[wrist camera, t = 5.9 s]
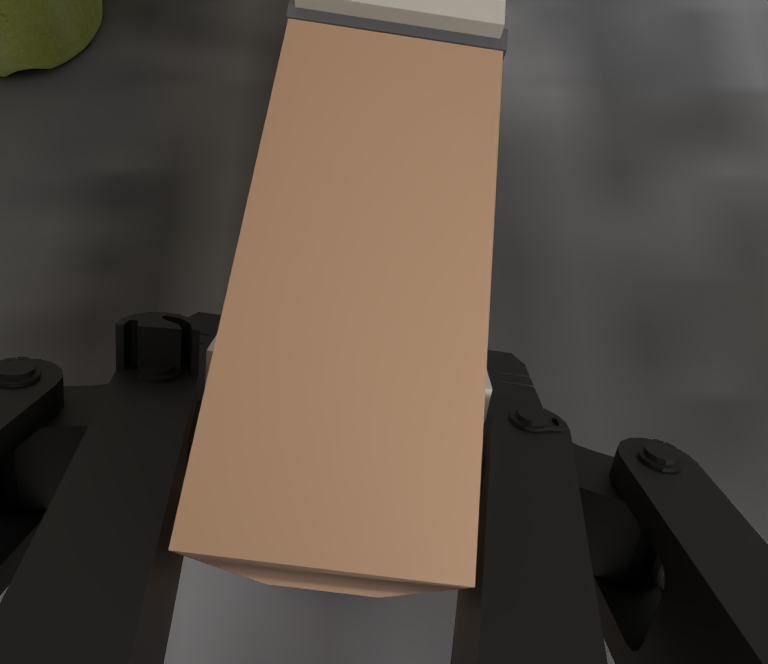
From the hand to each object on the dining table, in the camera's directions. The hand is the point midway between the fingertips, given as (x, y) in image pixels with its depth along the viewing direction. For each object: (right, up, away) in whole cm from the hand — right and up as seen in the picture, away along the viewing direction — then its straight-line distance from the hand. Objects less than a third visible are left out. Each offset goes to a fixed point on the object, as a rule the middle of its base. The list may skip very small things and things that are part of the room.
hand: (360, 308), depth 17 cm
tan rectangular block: (-1, -4, +2) cm, 5 cm away
